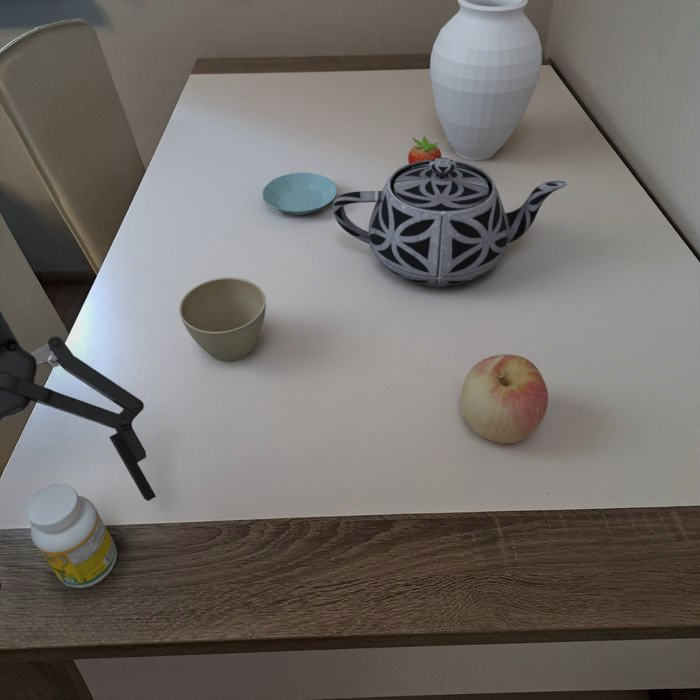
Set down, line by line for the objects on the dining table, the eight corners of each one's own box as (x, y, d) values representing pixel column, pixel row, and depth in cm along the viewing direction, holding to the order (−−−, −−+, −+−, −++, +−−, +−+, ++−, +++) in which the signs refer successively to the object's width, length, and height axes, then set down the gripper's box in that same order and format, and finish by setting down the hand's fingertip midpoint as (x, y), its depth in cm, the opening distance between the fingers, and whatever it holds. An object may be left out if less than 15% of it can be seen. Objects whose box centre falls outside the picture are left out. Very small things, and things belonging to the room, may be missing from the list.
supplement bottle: (128, 563, 59) (97, 504, 53) (73, 602, 57) (34, 546, 50) (101, 525, 62) (68, 465, 56) (47, 561, 60) (6, 503, 53)
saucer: (351, 198, 105) (351, 185, 103) (305, 231, 98) (304, 218, 97) (296, 178, 110) (295, 165, 109) (249, 208, 103) (247, 195, 102)
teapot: (565, 300, 85) (592, 199, 74) (332, 301, 86) (326, 202, 75) (538, 221, 98) (557, 127, 88) (337, 223, 100) (333, 130, 89)
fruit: (439, 175, 110) (442, 130, 104) (439, 190, 106) (443, 144, 100) (407, 174, 110) (409, 129, 104) (406, 190, 106) (408, 144, 101)
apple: (523, 390, 73) (535, 338, 68) (551, 451, 67) (567, 400, 61) (448, 399, 73) (454, 347, 67) (470, 463, 66) (478, 411, 61)
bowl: (179, 372, 77) (165, 327, 72) (207, 317, 84) (196, 273, 79) (259, 381, 76) (251, 336, 71) (281, 325, 83) (275, 280, 78)
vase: (489, 121, 124) (507, -25, 107) (546, 161, 112) (577, 3, 95) (407, 141, 119) (413, -9, 102) (458, 184, 107) (474, 23, 90)
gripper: (90, 272, 62) (197, 463, 64) (-210, 397, 51) (-72, 624, 53) (95, 250, 55) (214, 465, 57) (-249, 389, 44) (-89, 649, 46)
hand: (77, 542), depth 55 cm, fingers open, 13 cm apart
